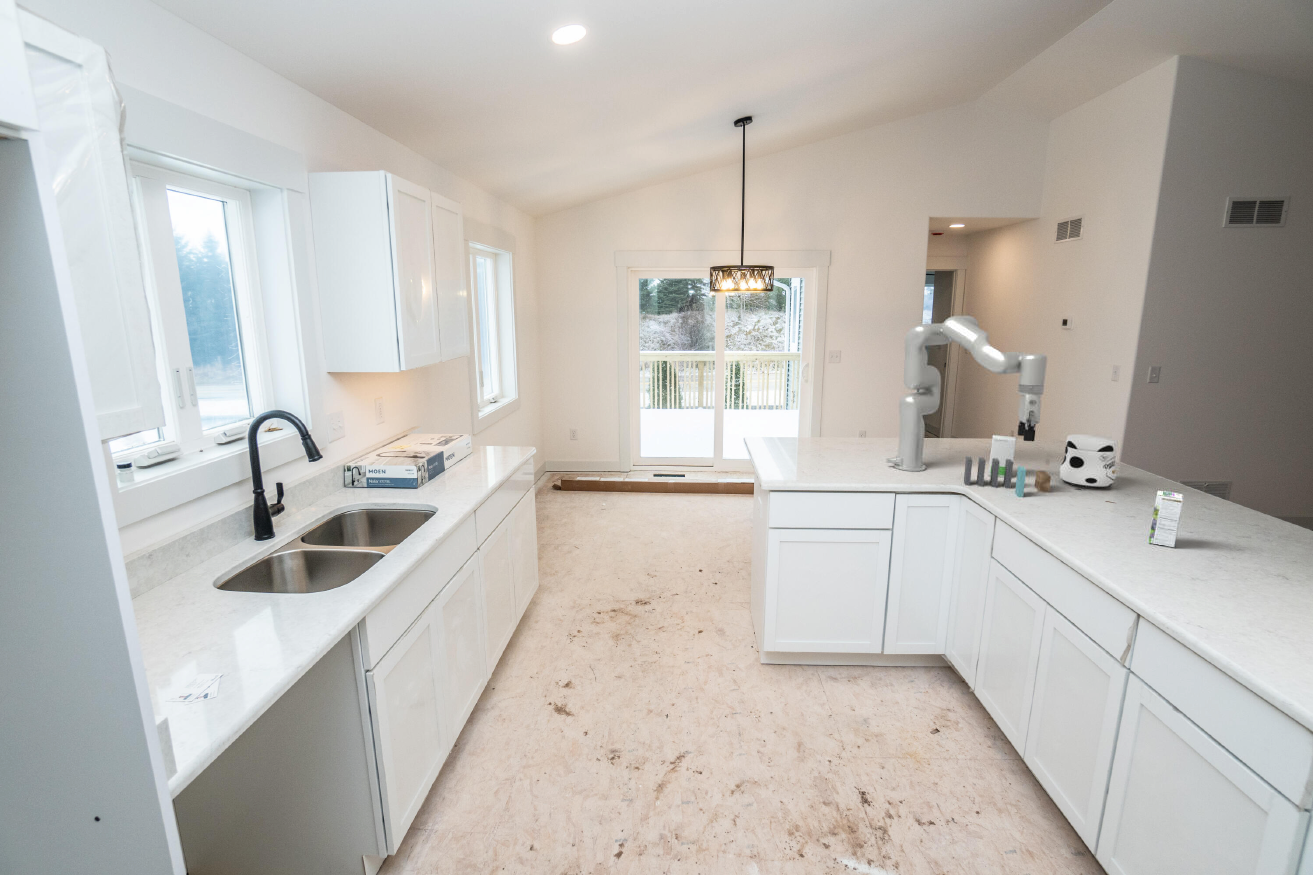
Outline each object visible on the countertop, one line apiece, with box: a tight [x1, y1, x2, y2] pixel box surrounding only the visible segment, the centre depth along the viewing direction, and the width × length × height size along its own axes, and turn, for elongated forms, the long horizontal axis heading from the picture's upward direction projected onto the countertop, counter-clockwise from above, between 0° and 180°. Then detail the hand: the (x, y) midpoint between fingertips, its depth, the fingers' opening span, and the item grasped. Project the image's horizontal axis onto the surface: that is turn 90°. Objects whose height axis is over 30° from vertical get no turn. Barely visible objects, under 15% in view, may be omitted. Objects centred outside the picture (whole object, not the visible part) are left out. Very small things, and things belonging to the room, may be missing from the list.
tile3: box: [989, 458, 1000, 489], centre depth 229 cm, size 2×5×10 cm, turn 160°
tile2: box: [976, 456, 987, 487], centre depth 231 cm, size 2×5×10 cm, turn 160°
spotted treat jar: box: [1059, 433, 1118, 489], centre depth 228 cm, size 17×17×18 cm
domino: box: [1014, 465, 1027, 498], centre depth 217 cm, size 2×5×10 cm, turn 160°
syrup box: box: [1148, 490, 1184, 548], centre depth 171 cm, size 6×6×14 cm
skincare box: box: [987, 434, 1017, 478], centre depth 243 cm, size 8×7×16 cm
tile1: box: [963, 456, 973, 486], centre depth 232 cm, size 2×5×10 cm, turn 160°
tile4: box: [1002, 459, 1014, 489], centre depth 228 cm, size 2×5×10 cm, turn 160°
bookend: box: [1034, 470, 1052, 494], centre depth 224 cm, size 3×8×6 cm, turn 160°
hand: (1025, 438), depth 215 cm, fingers open, 9 cm apart
